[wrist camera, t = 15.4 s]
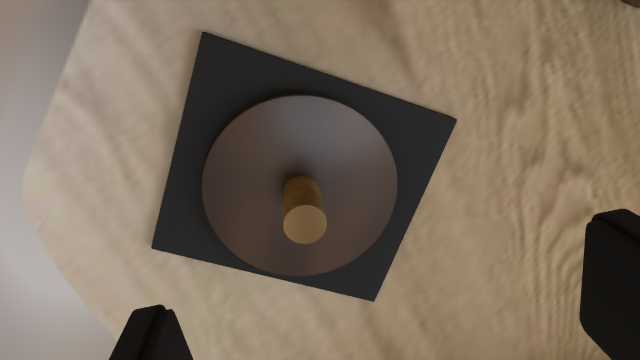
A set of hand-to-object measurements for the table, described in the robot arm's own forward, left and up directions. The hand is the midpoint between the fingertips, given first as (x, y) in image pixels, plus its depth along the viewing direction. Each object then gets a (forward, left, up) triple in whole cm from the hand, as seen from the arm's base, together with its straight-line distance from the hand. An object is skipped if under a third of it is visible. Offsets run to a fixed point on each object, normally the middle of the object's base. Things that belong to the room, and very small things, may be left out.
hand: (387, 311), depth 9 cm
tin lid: (+1, -5, -20) cm, 21 cm away
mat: (+1, -5, -21) cm, 22 cm away
